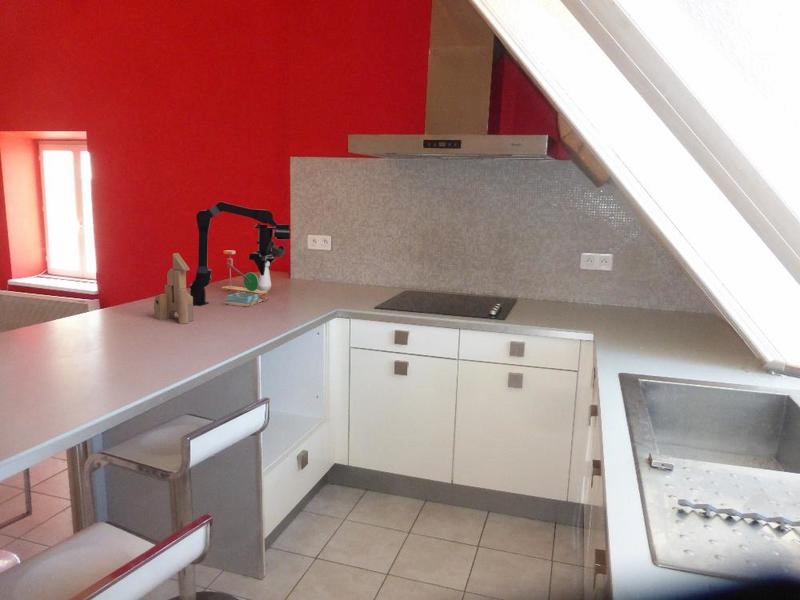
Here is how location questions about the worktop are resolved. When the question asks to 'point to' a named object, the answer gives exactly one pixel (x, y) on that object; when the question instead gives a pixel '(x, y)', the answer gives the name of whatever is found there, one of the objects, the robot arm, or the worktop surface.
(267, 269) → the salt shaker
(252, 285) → the crank mechanism
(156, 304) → the wooden toy
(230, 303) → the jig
